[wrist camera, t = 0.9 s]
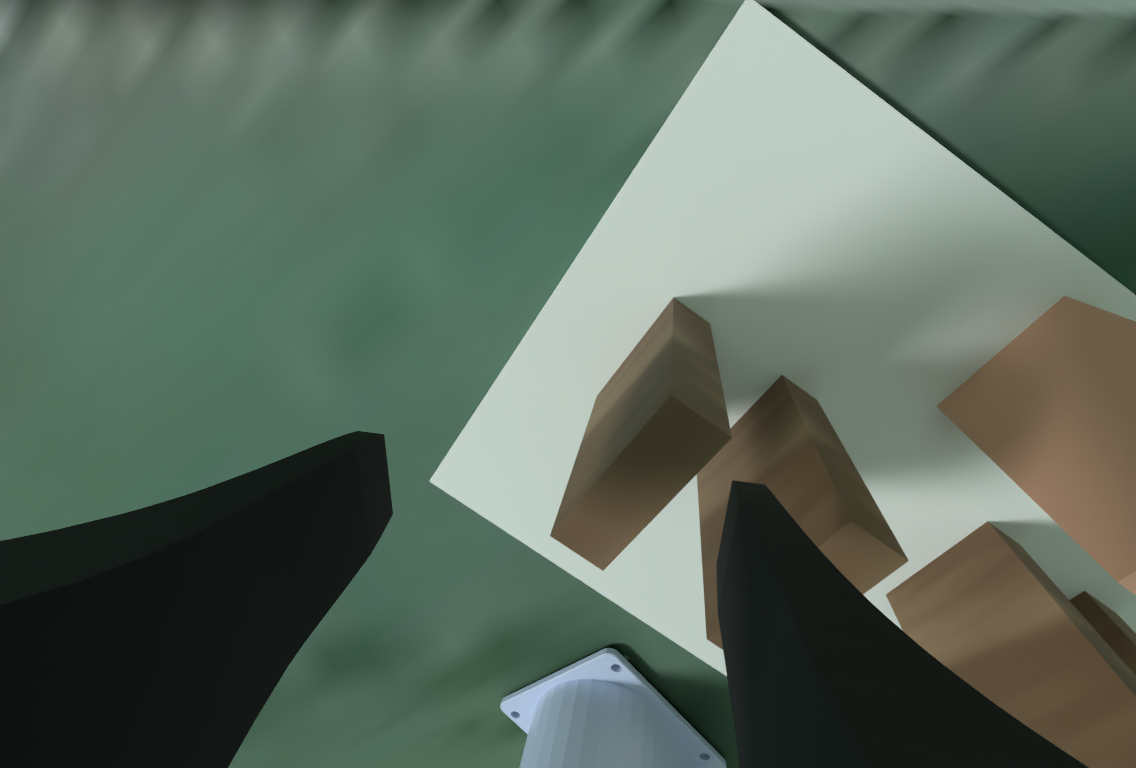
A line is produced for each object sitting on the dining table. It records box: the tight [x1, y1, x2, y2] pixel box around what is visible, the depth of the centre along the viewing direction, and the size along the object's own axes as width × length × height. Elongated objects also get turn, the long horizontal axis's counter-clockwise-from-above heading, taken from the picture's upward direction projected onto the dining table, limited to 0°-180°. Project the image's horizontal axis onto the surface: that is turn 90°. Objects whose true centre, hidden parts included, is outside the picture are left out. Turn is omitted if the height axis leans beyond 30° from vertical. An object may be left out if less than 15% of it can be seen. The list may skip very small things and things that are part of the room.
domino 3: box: [937, 296, 1136, 595], centre depth 14 cm, size 2×5×8 cm, turn 146°
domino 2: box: [697, 375, 909, 650], centre depth 16 cm, size 2×5×8 cm, turn 147°
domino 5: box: [1069, 591, 1136, 676], centre depth 18 cm, size 2×5×8 cm, turn 147°
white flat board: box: [429, 0, 1136, 676], centre depth 21 cm, size 28×21×1 cm
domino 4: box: [886, 521, 1136, 768], centre depth 17 cm, size 2×5×8 cm, turn 147°
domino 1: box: [550, 297, 732, 571], centre depth 16 cm, size 2×5×8 cm, turn 147°
